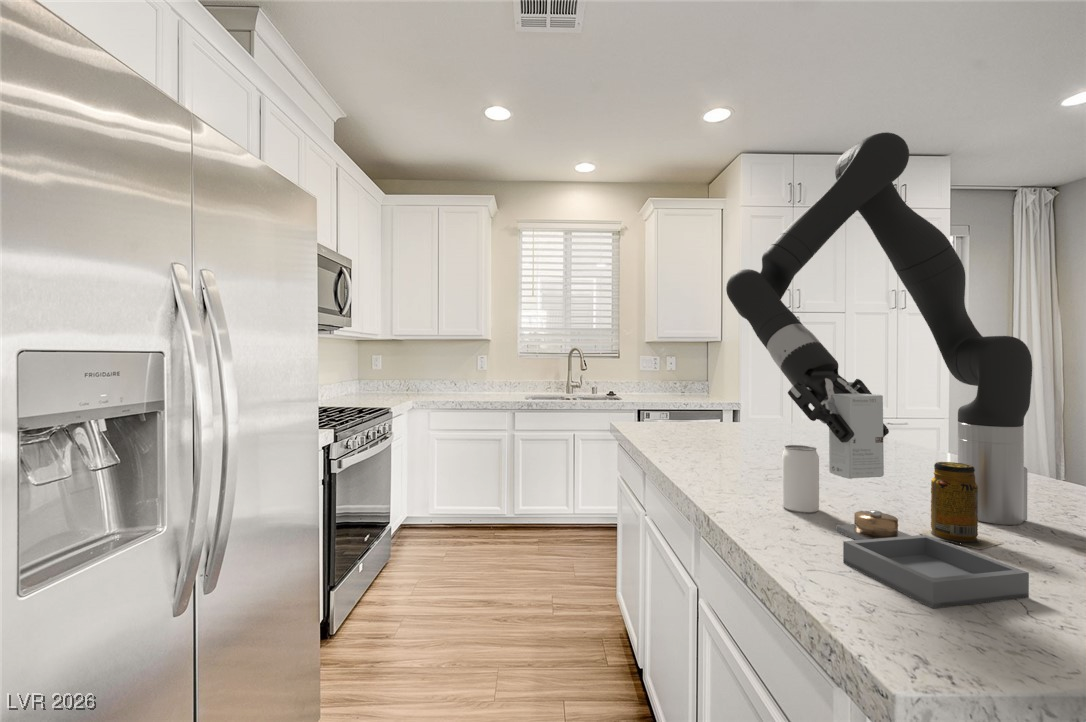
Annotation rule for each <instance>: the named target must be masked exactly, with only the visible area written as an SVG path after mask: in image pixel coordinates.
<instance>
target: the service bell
mask: <svg viewBox="0 0 1086 722" xmlns="http://www.w3.org/2000/svg"><path fill="white" fill-rule="evenodd" d="M835 528H836V530H835V532H836V531H837V533H838V532H839V534H841V533H842V534H841V535H843V534H844V535H843V536H845V535H847V536H846V537H848V536H849V537H848V538H850V537H851V539H852V538H853V539H852V540H854V539H856V540H866V539H878V538H891V537H903V536H912V535H911V534H907V533H905V532H902V531H901V530H899V518H898V517H896V516H894V515H891V514H888V513H884V512H882V511H880V510H876V509H875V510H874V509H870V511H868V510H860V511H856V512H854V523H853V524H841V525H840V524H839V525H835Z"/></svg>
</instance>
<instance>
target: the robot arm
mask: <svg viewBox="0 0 1086 722" xmlns="http://www.w3.org/2000/svg"><path fill="white" fill-rule="evenodd" d="M909 159H910V149H909V146H908V144H907V142H906V140H905V139H904V138H903V137H901V136H900V135H899V134H896V133H893V132H887V131H886V132H878V133H874V134H872V135H870V136H867V137H866V138H864V139H862V140H860V141H859V142H858V143H856V144H855V145H853V146H852V147H850V148H849V149H847V150H845V152H843V153H842V154H841V156H839V158H838V160H837V161H836V164H835V167H834V168H835V170H834V171H835V172H834V174H835V179H836V181H835V182H834V183H833V184H832V185H831V186H830V187H829V188H828V190H827V191H825V193H823V194H822V195H821V196H820V198H818V199H817V200H816V201H815V202H814V203H813V204H812V205H811V206H809V207H808V208H807V209H806V210H804V212H803V213H801V214H799V216H798V217H797V218H796V219H795V220H793V221H792V223H790V224H789V225H788V226H787V227H786V228H785V229H784V230H783V231H782V233H781V234H779V236H778V237H776V239H775V240H773V242H772V243H771V244H770V245H769V246H768V247H767V249H766V250H765V252H763V254H762V256H761V271H760V272H758V271H757V270H754V269H749V268H748V269H745V268H744V269H740V270H738V271H735V272H734V273H733V274H732V275H731V276H730V277H729V278H728V280H727V282H726V289H725V290H726V295H727V298H728V299H729V301H730V303H731V304H732V305H733V307H734V309H735V310H736V312H737V313H738V314H739V315H740V316H741V317H742V318H744V319H745V320H747V322H748V323H749V324H750V326H751V328H752V331H754V333H755V335H756V336H757V338H758V339H759V341H760V342H761V344H763V346H764V347H765V348H766V350H767V351H768V354H770V356H771V358H772V360H773V362H774V363H775V364H776V365H777V367H778V368H779V370H780V371H781V372H782V373H783V375H784V376H785V377H786V379H787V380H788V381H789V382H790V385H792V386H791V388H789V390H788V392H787V394H788V396H789V397H790V398H791V399H792V400H793V402H794V403H795V404H796V405H797V406H798V408H800V410H801V411H802V412H803V414H804V415H805V416H806V417H807V418H808V420H810V421H812V422H815V421H816V420H818V421H820V422H821V423H822V424H824V425H826V426H827V427H828V429H829V428H830V429H831V431H832V432H833V433H834V435H835V436H836V437H837V438H838V439H839V440H840V441H841V442H842V443H844V442H848V441H849V440H850V439H851V438H852V437H853V436H854V432H853V431H852V429H851V428H850V427H849V426H848V424H847V423H846V422H845V421H844V419H843V418H842V417H841V416H840V414H836V413H837V411H836V407H835V400H834V398H833V397H832V395H831V394H872V392H871V391H870V389H869V388H868V387H867V386H866V384H865V383H864V382H863V381H862V380H861V379H860V378H856V379H855V380H854V381H853V382H852V381H847V380H846V378H844V377H842V376H841V375H840V374H839V363H838V360H836V358H835V357H834V356H833V355H832V354H831V353H830V352H829V350H827V348H826V346H825V345H823V344H822V343H821V341H820V340H819V339H818V338H817V337H816V335H814V333H813V332H811V330H809V329H808V327H806V326H805V325H804V323H802V322H801V321H800V320H799V318H798V317H797V316H796V315H795V314H794V313H793V312H792V310H790V309H789V308H788V307H787V306H786V305H785V303H783V301H782V298H783V297H784V295H785V294H786V292H787V290H788V288H789V287H790V285H791V283H792V281H793V279H794V277H795V276H796V274H798V273H799V272H800V271H801V270H802V269H803V267H804V266H805V265H806V264H807V263H809V261H810V260H811V259H812V258H813V256H815V255H816V253H818V252H819V250H820V249H821V248H822V247H823V246H824V245H825V244H826V243H827V242H828V241H829V239H831V237H832V236H833V235H834V234H835V233H836V232H837V231H838V230H839V229H840V228H841V227H842V226H843V225H844V224H845V223H846V221H848V220H849V219H850V218H851V216H853V215H854V214H856V212H857V211H858V212H859V214H860V215H861V217H862V218H863V219H864V221H865V222H866V223H867V225H868V226H869V229H870V230H871V231H872V234H873V235H874V237H875V239H876V240H877V242H878V244H879V245H880V247H881V248H882V250H883V252H884V253H885V254H886V256H887V259H888V260H889V262H890V263H891V265H892V268H893V269H894V271H895V273H896V275H897V276H898V277H899V279H900V282H901V283H902V284H903V286H904V288H905V289H906V291H907V292H908V294H909V295H910V296H911V298H912V300H913V302H914V303H915V305H916V306H917V308H918V310H919V312H920V314H921V315H922V318H923V319H924V321H925V323H926V325H927V326H928V328H929V330H930V332H931V334H932V336H933V338H934V341H935V344H936V345H937V348H938V350H939V352H940V354H941V357H942V358H943V362H944V363H945V366H946V367H947V368H948V370H949V372H950V374H951V375H952V376H953V377H954V378H955V379H956V380H957V381H959V382H960V383H961V384H965V385H970V386H975V387H977V392H976V396H975V398H974V399H973V400H972V401H971V402H969V403H967V404H964V405H962V406H959V408H958V410H957V463H962V464H967V465H971V466H973V467H974V468H975V471H974V475H975V482H976V484H977V486H978V521H979V522H981V523H982V522H983V523H989V524H997V525H998V524H999V525H1010V526H1011V525H1013V526H1014V525H1021V524H1024V521H1028V468H1027V467H1026V466H1025V464H1024V463H1025V461H1024V459H1025V458H1024V457H1025V455H1024V454H1025V447H1024V446H1025V441H1024V440H1025V439H1024V438H1025V437H1024V436H1025V435H1024V434H1025V429H1024V428H1025V426H1024V425H1025V416H1026V414H1027V413H1028V411H1029V409H1030V404H1031V394H1032V393H1031V392H1032V391H1031V390H1032V382H1033V381H1032V380H1033V359H1032V358H1033V357H1032V354H1031V351H1030V349H1029V347H1028V345H1027V344H1026V343H1025V342H1024V341H1022V339H1020V338H1017V337H1015V336H1011V335H994V336H993V335H990V336H983V335H982V334H981V333H980V332H979V330H978V329H977V327H976V326H975V325H974V323H973V321H972V319H971V318H970V315H969V314H968V312H967V308H966V303H965V299H966V298H965V297H966V270H965V266H964V264H963V262H962V260H961V259H960V257H959V255H958V253H957V252H956V249H954V246H953V245H952V243H951V242H950V240H949V238H947V236H946V235H945V234H944V232H942V231H941V230H940V229H939V228H938V227H936V226H935V225H934V224H932V223H931V222H930V221H929V220H928V219H926V218H924V217H923V216H922V215H920V214H919V213H917V212H916V211H915V210H913V209H912V208H911V207H910V206H908V204H907V203H906V202H905V201H904V200H903V199H902V196H901V195H900V193H899V191H898V190H897V188H896V187H895V185H894V183H893V182H895V181H896V180H897V179H898V178H899V177H900V176H901V175H902V174H903V173H904V171H905V169H906V168H907V166H908V163H909ZM810 404H811V406H812V407H813V409H811V408H810ZM889 433H890V431H889V429H888V427H887V426H886V425H885V423H884V422H883V439H884V438H885V437H886V436H887V435H888V434H889Z"/></svg>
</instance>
